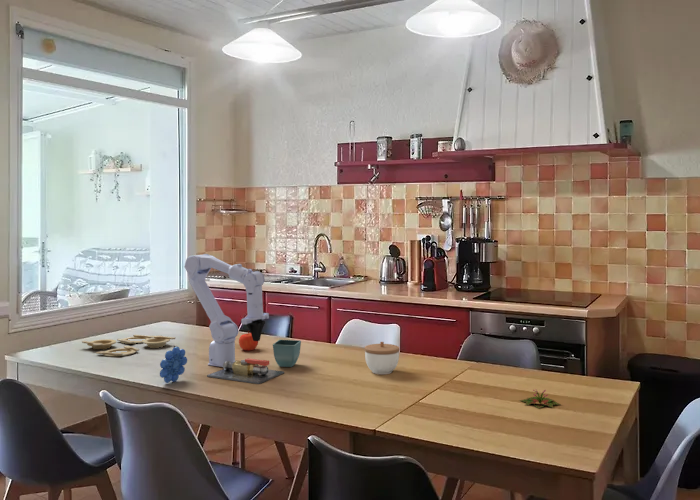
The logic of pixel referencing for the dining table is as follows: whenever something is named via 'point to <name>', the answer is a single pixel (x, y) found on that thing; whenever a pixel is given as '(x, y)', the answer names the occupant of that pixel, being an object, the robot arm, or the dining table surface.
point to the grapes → (173, 364)
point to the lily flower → (539, 400)
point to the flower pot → (286, 352)
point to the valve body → (245, 372)
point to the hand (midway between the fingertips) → (256, 340)
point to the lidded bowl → (382, 357)
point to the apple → (247, 342)
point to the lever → (255, 362)
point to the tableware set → (107, 343)
